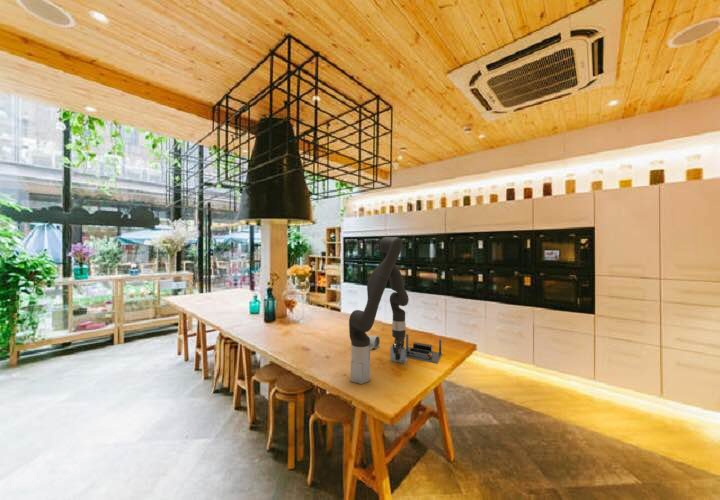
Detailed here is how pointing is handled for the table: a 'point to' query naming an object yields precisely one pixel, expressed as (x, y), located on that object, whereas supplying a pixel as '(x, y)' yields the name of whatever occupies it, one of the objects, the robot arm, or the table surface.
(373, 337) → the ceramic mug
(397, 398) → the table surface
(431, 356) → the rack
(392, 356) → the grey rectangular block
